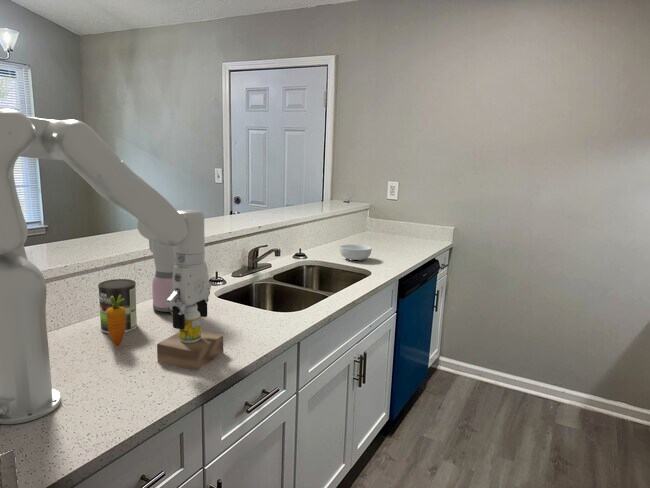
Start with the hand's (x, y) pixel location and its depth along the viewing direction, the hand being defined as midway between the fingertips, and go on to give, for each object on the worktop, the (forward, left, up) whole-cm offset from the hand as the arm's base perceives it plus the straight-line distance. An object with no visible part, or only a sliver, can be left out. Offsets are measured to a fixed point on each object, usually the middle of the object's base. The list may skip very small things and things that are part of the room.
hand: (190, 322), depth 119 cm
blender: (+29, +30, -10) cm, 43 cm away
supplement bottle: (0, 0, -5) cm, 5 cm away
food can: (+8, +32, -10) cm, 34 cm away
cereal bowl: (+135, -6, -10) cm, 136 cm away
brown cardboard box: (0, 0, -10) cm, 10 cm away
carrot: (-3, +22, -10) cm, 24 cm away
